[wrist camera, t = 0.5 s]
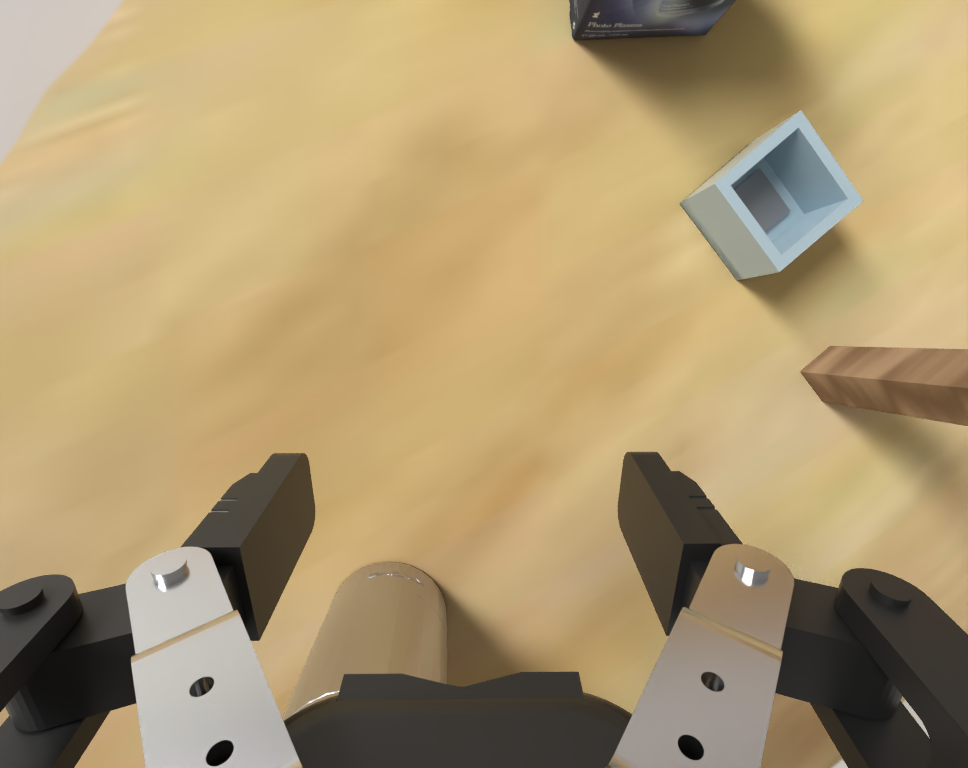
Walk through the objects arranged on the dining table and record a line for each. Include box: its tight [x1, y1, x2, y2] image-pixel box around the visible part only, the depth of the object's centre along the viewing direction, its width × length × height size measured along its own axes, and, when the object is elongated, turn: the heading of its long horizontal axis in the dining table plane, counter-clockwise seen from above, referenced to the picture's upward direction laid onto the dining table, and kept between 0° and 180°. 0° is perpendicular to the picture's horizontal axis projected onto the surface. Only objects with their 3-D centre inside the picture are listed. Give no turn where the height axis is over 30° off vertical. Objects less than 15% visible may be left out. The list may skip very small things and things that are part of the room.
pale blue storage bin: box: [680, 110, 863, 280], centre depth 36 cm, size 8×8×5 cm
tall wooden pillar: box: [801, 346, 968, 426], centre depth 33 cm, size 3×3×15 cm
